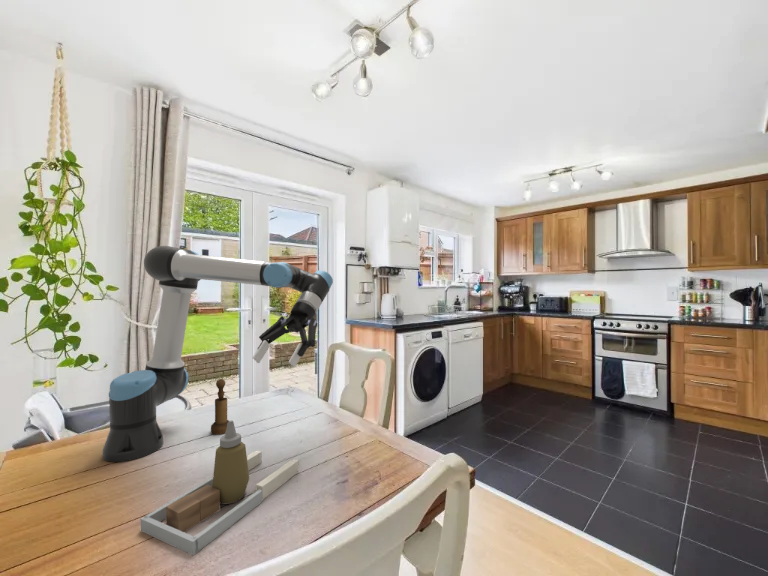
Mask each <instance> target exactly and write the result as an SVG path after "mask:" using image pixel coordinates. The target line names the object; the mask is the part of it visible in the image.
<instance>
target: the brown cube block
mask: <svg viewBox="0 0 768 576" xmlns="http://www.w3.org/2000/svg"><path fill="white" fill-rule="evenodd" d="M165 520H166V525H168V526H171V527H173V528H175V529H178V530H180V531H182V532H185V533H186V531H188V530H190V529H191V528H193V527H194V526H196V525H197V524H200V523H201V522H200V501H199V500H197V499H195V498H193V497H191V496H189V495H187V496H185V497H183V498H181V499H179V500H177V501H176V502H174V503H172V504H170V505H168V506H166V519H165Z"/></svg>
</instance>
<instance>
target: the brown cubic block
mask: <svg viewBox="0 0 768 576" xmlns="http://www.w3.org/2000/svg"><path fill="white" fill-rule="evenodd" d="M189 496H191V497H193V498H195V499H197V500H199V501H200V522H199V523H201V522H203V521H205V520H206V519H209V516H210V517H211V516H213V515H214V514H216V513H217V512H220V511H221V503H220V490H218V489H216V488H214V487H211V486H209V485H206V486H204V487H203V488H201V489H199V490H197V491H195V492H193V493H191V494H189Z"/></svg>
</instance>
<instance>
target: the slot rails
mask: <svg viewBox="0 0 768 576" xmlns="http://www.w3.org/2000/svg"><path fill="white" fill-rule="evenodd" d="M262 453H263V451H260V450H255V451H253V452H251V453H250V454H248V455H247V463H248V471H251V470H252V469H253V468H255V467H257V466H258V465H261V463H262V462H263V460H262V456H263V455H262ZM298 473H299V460H296V459H290V460H289V461H288V462H286V463H285V464H283V465H282V466H280V467H279V468H278V469H276V470H275V471H274V472H272V473H271V474H269V475H267V476H266V477H265V478H263V479H262V480H260V481H259V482H257V484H256V485H255V492H257V491H258V490H259V489H260V490H263V500H264V499H265V498H266V497H268V496H269V495H271V494H272V493H273V492H274V491H275V490H277V489H278V488H280V487H281V486H282V485H283V484H285V483H286V482H287V481H289V480H291V478H293V477H294V476H295V475H296V474H298Z"/></svg>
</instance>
